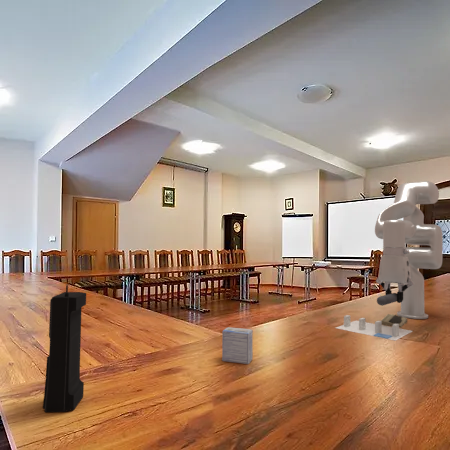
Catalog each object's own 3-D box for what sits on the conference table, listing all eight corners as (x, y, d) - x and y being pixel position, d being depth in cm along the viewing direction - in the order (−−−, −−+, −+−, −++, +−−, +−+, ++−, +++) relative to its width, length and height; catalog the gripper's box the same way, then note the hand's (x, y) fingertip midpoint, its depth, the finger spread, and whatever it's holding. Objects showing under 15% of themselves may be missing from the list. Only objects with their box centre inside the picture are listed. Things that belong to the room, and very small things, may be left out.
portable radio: (56, 395, 76) (60, 280, 77) (85, 394, 76) (88, 280, 77) (40, 413, 68) (45, 285, 69) (72, 412, 68) (76, 285, 69)
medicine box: (252, 359, 99) (253, 329, 100) (248, 365, 95) (249, 333, 95) (226, 356, 102) (227, 326, 102) (221, 361, 98) (222, 330, 98)
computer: (401, 331, 134) (401, 322, 134) (379, 328, 139) (379, 319, 139) (407, 323, 147) (407, 315, 147) (386, 320, 151) (386, 313, 152)
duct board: (355, 322, 145) (355, 310, 145) (413, 333, 129) (413, 320, 129) (334, 330, 132) (334, 317, 132) (395, 343, 116) (395, 328, 117)
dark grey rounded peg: (390, 300, 131) (390, 292, 132) (399, 302, 129) (399, 293, 129) (375, 305, 121) (375, 296, 121) (384, 306, 119) (384, 297, 119)
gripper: (421, 253, 127) (421, 303, 126) (376, 251, 139) (376, 297, 138) (414, 253, 122) (414, 306, 121) (368, 251, 134) (368, 299, 133)
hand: (394, 301), depth 130 cm, fingers closed on dark grey rounded peg, 3 cm apart
